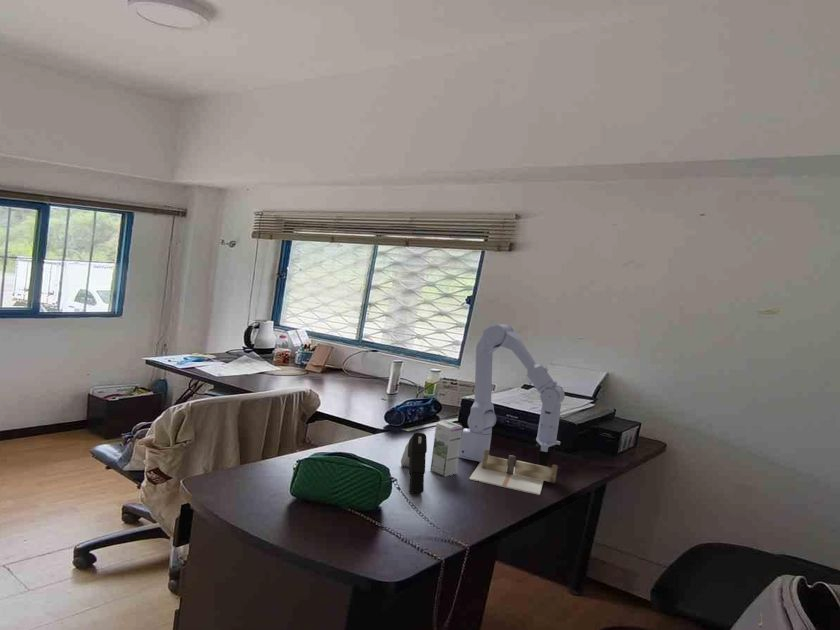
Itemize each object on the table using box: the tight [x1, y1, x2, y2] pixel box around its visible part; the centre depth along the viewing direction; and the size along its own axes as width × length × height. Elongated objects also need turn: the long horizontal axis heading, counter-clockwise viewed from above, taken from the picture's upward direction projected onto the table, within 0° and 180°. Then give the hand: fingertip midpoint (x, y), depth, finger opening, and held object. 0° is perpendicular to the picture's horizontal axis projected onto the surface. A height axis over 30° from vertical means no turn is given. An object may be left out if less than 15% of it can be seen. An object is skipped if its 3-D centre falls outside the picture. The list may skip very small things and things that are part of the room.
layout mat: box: [469, 462, 544, 496], centre depth 172 cm, size 20×20×1 cm
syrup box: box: [430, 420, 463, 477], centre depth 167 cm, size 6×6×14 cm
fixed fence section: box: [482, 450, 517, 475], centre depth 174 cm, size 10×2×5 cm, turn 73°
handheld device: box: [400, 432, 428, 494], centre depth 158 cm, size 4×22×15 cm
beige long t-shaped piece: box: [514, 459, 558, 484], centre depth 171 cm, size 12×2×5 cm, turn 73°
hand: (542, 468), depth 176 cm, fingers closed
